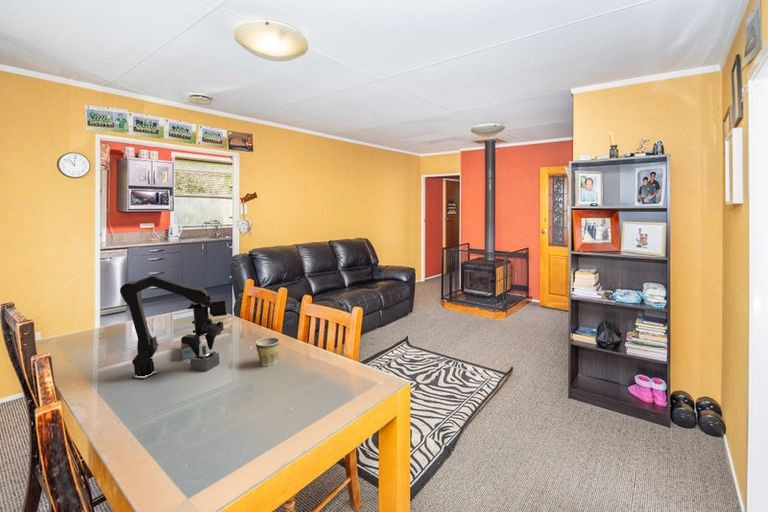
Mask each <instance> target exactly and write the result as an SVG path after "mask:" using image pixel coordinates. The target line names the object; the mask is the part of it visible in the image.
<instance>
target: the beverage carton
mask: <svg viewBox="0 0 768 512" xmlns="http://www.w3.org/2000/svg"><path fill="white" fill-rule="evenodd" d="M199 341H201V339H200V340H199ZM180 348H181V349H180V351H181V358H182V361H183V360H185V361H188V360H187V359H190V358H192V357H194V356H196V355H195V353H194V352H193V350H192V349H191V348H190V346H189V345H188V344H182V343H181V346H180ZM201 352H202V347H201V343H200V344H199V354H200V353H201Z"/></svg>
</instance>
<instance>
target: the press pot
mask: <svg viewBox="0 0 768 512" xmlns="http://www.w3.org/2000/svg"><path fill="white" fill-rule="evenodd" d="M209 352H210V351H209ZM189 362H190V370H191V371H197V370H198V372H206V371H207V372H209V371H211V370H212V369H214V368H215V366H216V367H217V366H219V365H220V364H221V363H220V354H219V352H217V351H211V352H210V355H209V356H207V357H206V359H204V357H199V356H194V357H192V358H190V360H189ZM213 367H214V368H213Z"/></svg>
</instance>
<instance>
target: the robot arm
mask: <svg viewBox="0 0 768 512" xmlns="http://www.w3.org/2000/svg"><path fill="white" fill-rule="evenodd" d="M150 287H154V288H157V289H161V290H163V291H166V292H170V293H173V294H176V295H179V296H182V297H184V298H186V299H187V300H189V301H190V302H191V303H190V304H189V306H188V307H187V310H192V312H193V320H192V321H191V324H192V325H194V329H193V330H192V333H193V334H192V333H190V334H189V333H188V334H186V335H183V336H182V337H181V339H180V341H181V344H188V345H189V346H190V348H191V349H192V350H193V352H194V353H195V355H196V356H199V344H200V345H201V343H202V341H201V337H203V336H204V337H205V340H206V344H207V347H208V350H209V351H212V350H213V346H214V343H215V340H216V337H218V336H220V335H221V334H222V333H221V332H223V330H224V322H223V321H218V322H216V323H213V319H212V318H209V317H210V316H209V315H211V316H212V317H213V318H214V317H222V316H228V306H227V301H226V299H221V300H213V299H212V298H211V297H210V296H209V294H208V291H207V289H205V288H204V287H199V286H189V285H185V284H182V283H178V282H176V281H172V280H169V279H167V278H164V277H160V276H158V275H156V274H151V275H149V276H147V277H145V278H142V279H141V278H140V279H139V280H130V281H128V282H126V283H124V284H123V285H121V286H120V288H119V289H120V290H119V294H120V295H121V297H122V299H123V301H124V302H125V303H126V304H127V306H128V308H129V312H130V316H131V319H132V322H133V326H134V331H135V333H136V336H137V337H136V338H137V348H136V349H137V354H136V356H134V358H133V359H132V360H131V363H132V365H133V371H134V375H137V376H145V375H149V374H151V373H152V372H153V371H155V365H154V364H155V363H154V359H153V357H154V355H155V353H157V350H158V346H159V343H158V340H157V335H156V336H152V335H151V333H150V331H149V327H148V324H147V323H148V322H147V320H146V316H145V312H144V309H143V305H142V291H143V290H146V289H148V288H150ZM199 340H200V341H199Z"/></svg>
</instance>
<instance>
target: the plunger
mask: <svg viewBox="0 0 768 512" xmlns="http://www.w3.org/2000/svg"><path fill="white" fill-rule="evenodd" d="M209 355H210V351H207V346H206V345H203V346H201V352H200V354H199V357H204V359H206V357H207V356H209Z"/></svg>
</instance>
